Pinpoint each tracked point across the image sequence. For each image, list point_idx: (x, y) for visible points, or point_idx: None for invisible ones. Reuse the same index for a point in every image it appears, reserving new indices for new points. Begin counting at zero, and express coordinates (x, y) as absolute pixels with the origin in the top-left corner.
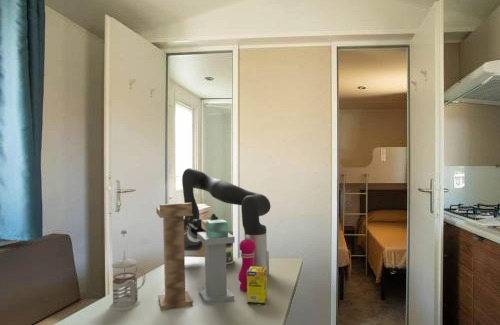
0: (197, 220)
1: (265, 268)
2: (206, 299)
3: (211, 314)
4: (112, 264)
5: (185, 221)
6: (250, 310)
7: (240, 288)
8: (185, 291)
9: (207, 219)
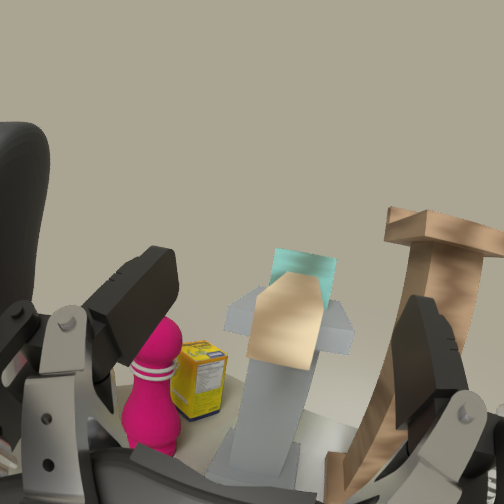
0: (298, 492)
1: (183, 343)
2: (296, 445)
3: (300, 421)
4: None
5: (491, 427)
6: (232, 399)
7: (174, 451)
8: (333, 501)
9: (93, 405)
